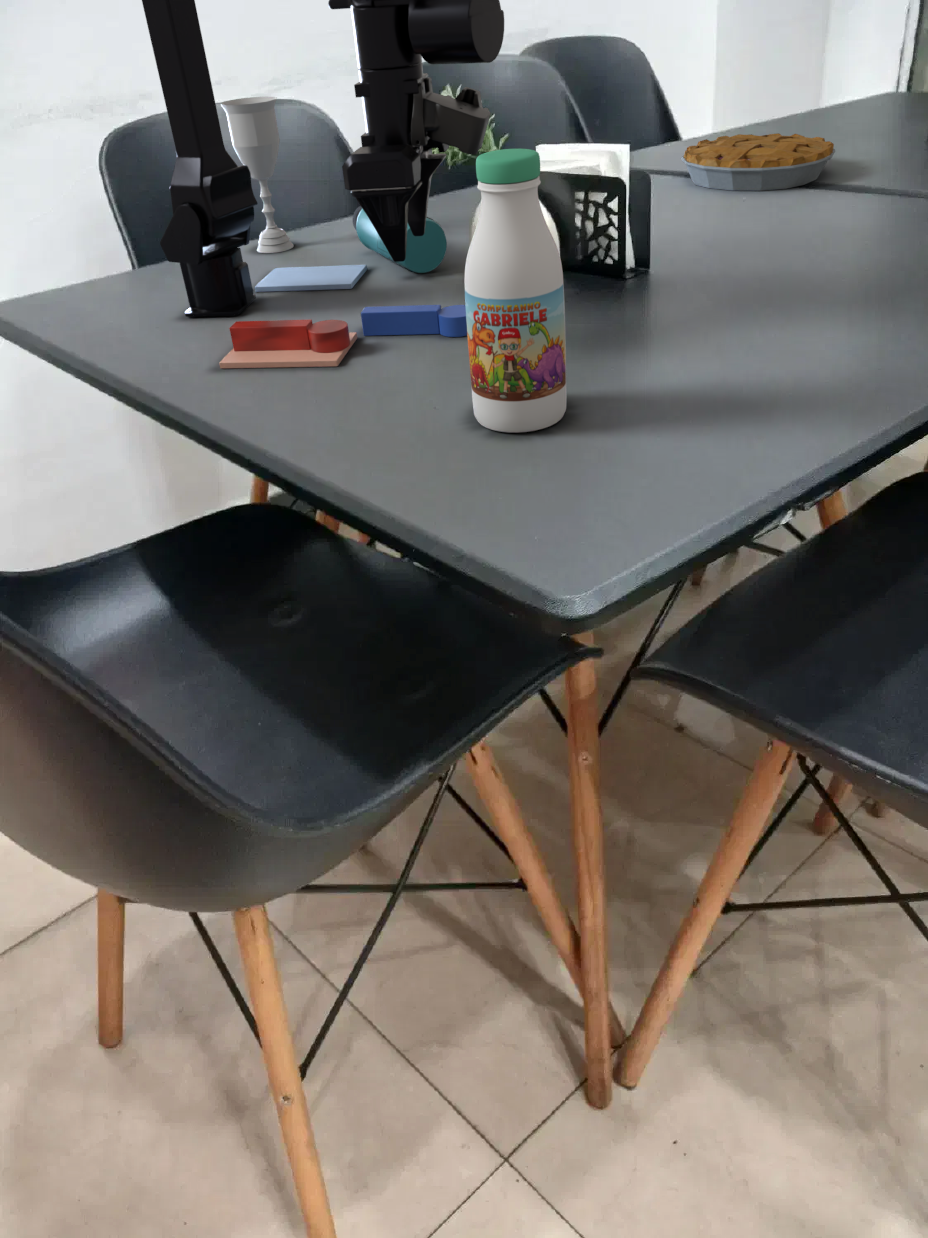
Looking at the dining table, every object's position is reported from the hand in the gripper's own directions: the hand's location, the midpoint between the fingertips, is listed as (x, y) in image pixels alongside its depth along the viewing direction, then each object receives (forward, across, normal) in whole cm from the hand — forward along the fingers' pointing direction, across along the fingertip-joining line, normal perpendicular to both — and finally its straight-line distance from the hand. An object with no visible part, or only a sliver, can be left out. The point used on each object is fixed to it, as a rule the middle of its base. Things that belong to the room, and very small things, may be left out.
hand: (409, 247), depth 95 cm
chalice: (+8, +36, +27) cm, 46 cm away
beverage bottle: (+5, +19, +2) cm, 20 cm away
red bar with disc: (+8, -5, +12) cm, 15 cm away
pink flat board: (+8, -5, +12) cm, 16 cm away
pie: (+9, +66, -38) cm, 77 cm away
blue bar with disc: (+8, 0, 0) cm, 8 cm away
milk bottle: (+9, -21, -13) cm, 26 cm away
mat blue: (+8, +20, +17) cm, 27 cm away
